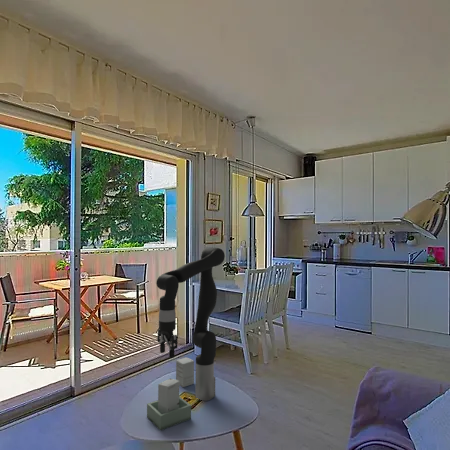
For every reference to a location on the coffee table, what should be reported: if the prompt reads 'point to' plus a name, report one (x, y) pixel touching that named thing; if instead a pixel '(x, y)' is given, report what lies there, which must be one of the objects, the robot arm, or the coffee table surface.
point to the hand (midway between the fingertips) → (167, 355)
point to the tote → (168, 414)
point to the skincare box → (168, 396)
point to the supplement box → (185, 371)
